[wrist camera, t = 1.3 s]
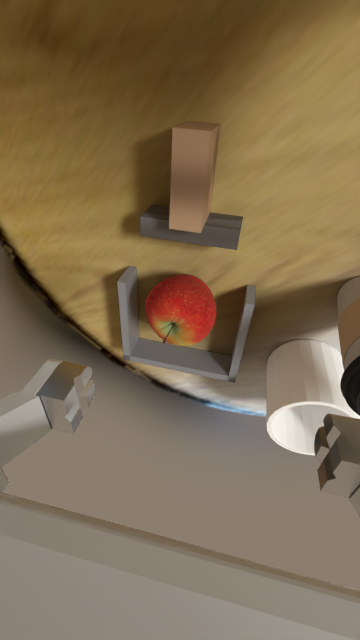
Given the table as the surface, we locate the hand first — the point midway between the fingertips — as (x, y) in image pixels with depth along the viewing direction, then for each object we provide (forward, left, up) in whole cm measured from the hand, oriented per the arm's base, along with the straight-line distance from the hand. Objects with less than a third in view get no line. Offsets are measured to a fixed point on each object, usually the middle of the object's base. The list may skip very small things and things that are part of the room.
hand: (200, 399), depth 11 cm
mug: (+22, +13, -26) cm, 37 cm away
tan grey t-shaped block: (-1, -5, -26) cm, 26 cm away
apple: (+12, -5, -26) cm, 29 cm away
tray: (+17, -5, -26) cm, 31 cm away
